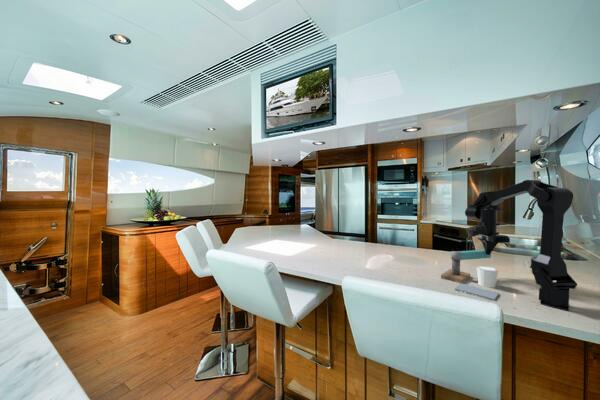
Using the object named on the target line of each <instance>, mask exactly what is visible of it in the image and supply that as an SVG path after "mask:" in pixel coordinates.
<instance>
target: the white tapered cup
mask: <svg viewBox="0 0 600 400" xmlns="http://www.w3.org/2000/svg"><path fill="white" fill-rule="evenodd" d="M498 273H499V270H498V269H497V268H495V267H491V266H487V265H478V266H476V274H477V284H478V285H479V286H481V287H484V286H485V288H492V289H493V288H496V285H497V278H498Z"/></svg>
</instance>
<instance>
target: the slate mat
mask: <svg viewBox="0 0 600 400" xmlns="http://www.w3.org/2000/svg"><path fill="white" fill-rule="evenodd" d="M454 291H458V292H460V291H462V292H461V293H464V292H466V293H465V294H468V293H471V294H473V295H472V296H475V295H476V296H475V297H479V298H483V299H487V300H490V301H494V302H495V301H496V300H497V298H498V296H499V292H497V291H492V290H490V289H489V290H488V289H485V288H482V287H476V286H473V285H469V284H465V283H459V284H458V286H456V287H455V288H454ZM471 294H470V295H471Z"/></svg>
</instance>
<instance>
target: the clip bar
mask: <svg viewBox="0 0 600 400" xmlns="http://www.w3.org/2000/svg"><path fill="white" fill-rule="evenodd" d="M450 254H451V256H450V257H451V260H452V259H453V260H458V261H460V262H461V261H463V260H464V261H465V260H466V261H467V260H477V259H478V260H480V259H491V258H492V253H491V254H490V255H486V252H485V250H484V249H474V250H472V249H471V250H461V251H460V250H457V251H454V250H451V253H450Z"/></svg>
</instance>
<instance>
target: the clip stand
mask: <svg viewBox="0 0 600 400" xmlns="http://www.w3.org/2000/svg"><path fill="white" fill-rule="evenodd" d="M470 277H471V273H470V272H469V273H468V272H465V271H461V260H460V261H458V260H453V259H451V268H450V269H448V270H446V271H444V272H443V273H441V275H440V279H443V280H446V281H450V282H456V283H459V284H461V283H462V284H464V283H465V282H466V281H467V280H468V279H470Z"/></svg>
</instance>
